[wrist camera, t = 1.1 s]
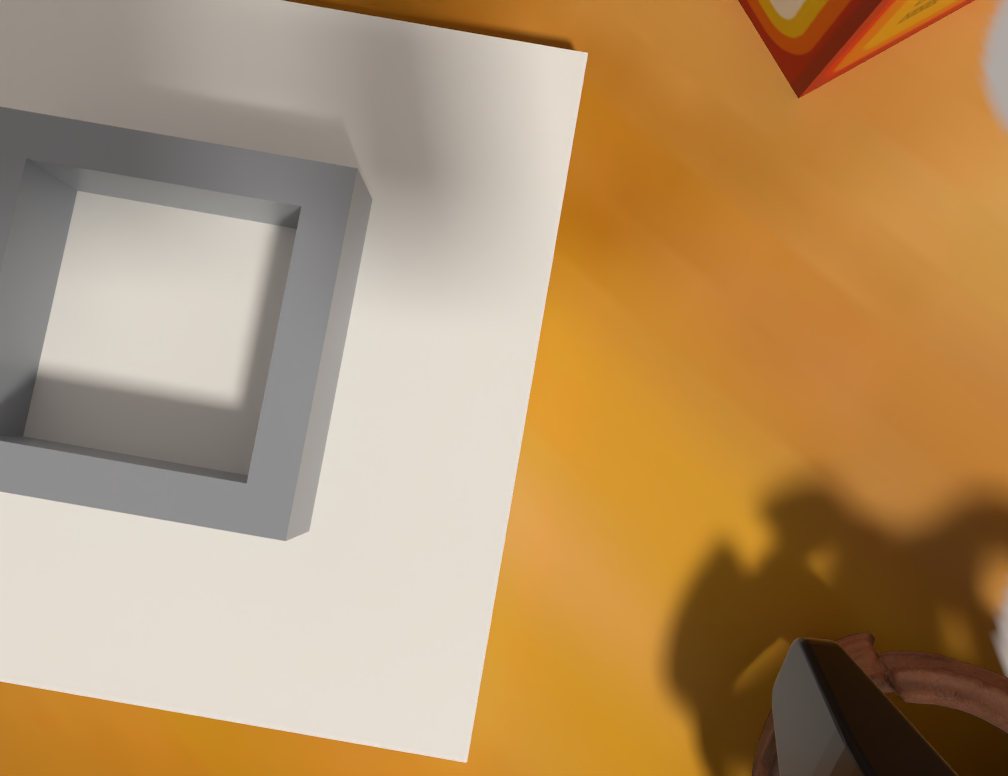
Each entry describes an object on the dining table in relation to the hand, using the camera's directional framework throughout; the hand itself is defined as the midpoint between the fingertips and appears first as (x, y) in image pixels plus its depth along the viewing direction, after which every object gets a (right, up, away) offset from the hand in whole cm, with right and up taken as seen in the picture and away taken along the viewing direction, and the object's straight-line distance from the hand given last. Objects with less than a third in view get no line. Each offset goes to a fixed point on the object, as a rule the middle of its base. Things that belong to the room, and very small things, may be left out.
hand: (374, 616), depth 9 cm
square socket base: (-8, +4, +15) cm, 17 cm away
